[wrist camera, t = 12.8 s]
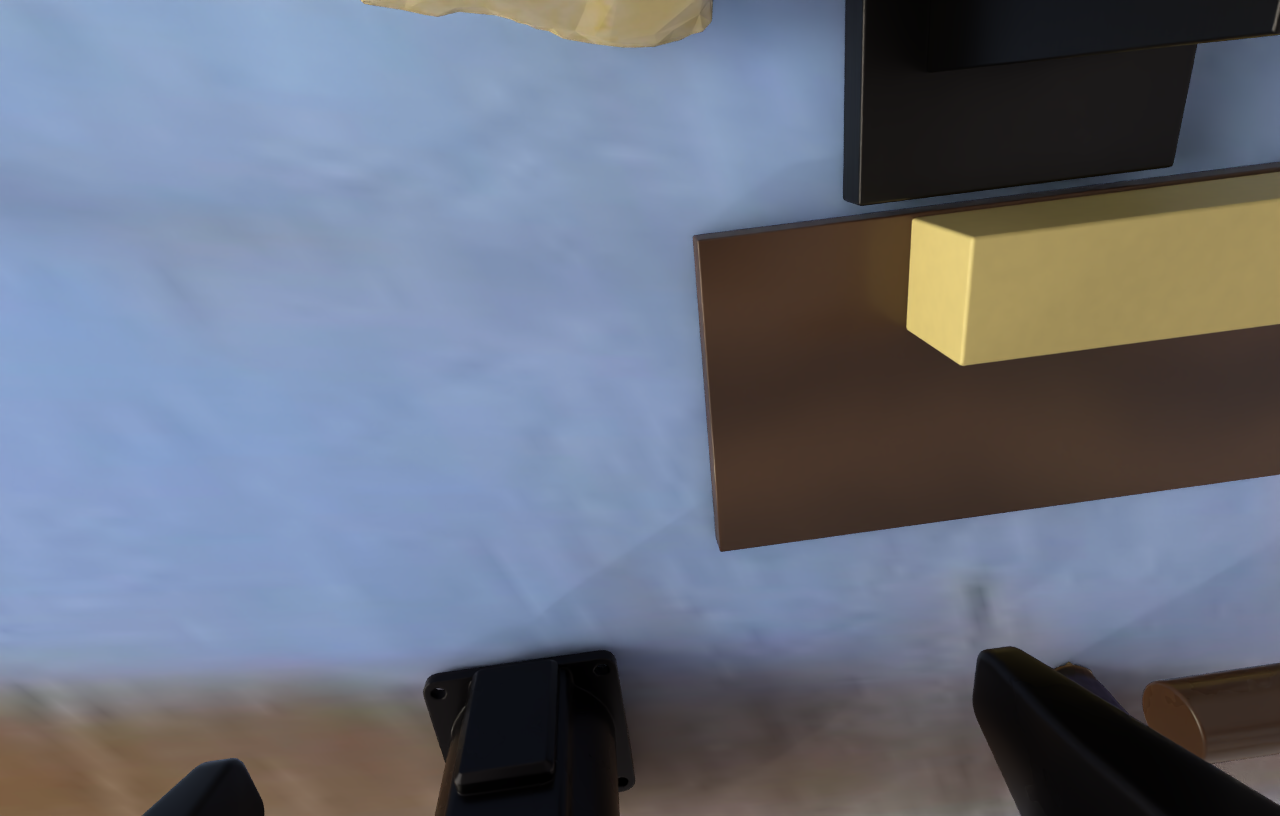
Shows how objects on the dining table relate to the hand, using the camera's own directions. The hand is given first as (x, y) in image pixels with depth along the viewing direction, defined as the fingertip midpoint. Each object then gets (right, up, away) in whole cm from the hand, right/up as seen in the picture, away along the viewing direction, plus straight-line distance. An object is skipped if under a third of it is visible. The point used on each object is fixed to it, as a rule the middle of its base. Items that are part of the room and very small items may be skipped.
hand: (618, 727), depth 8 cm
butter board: (+11, +5, +12) cm, 17 cm away
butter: (+12, +8, +10) cm, 18 cm away
